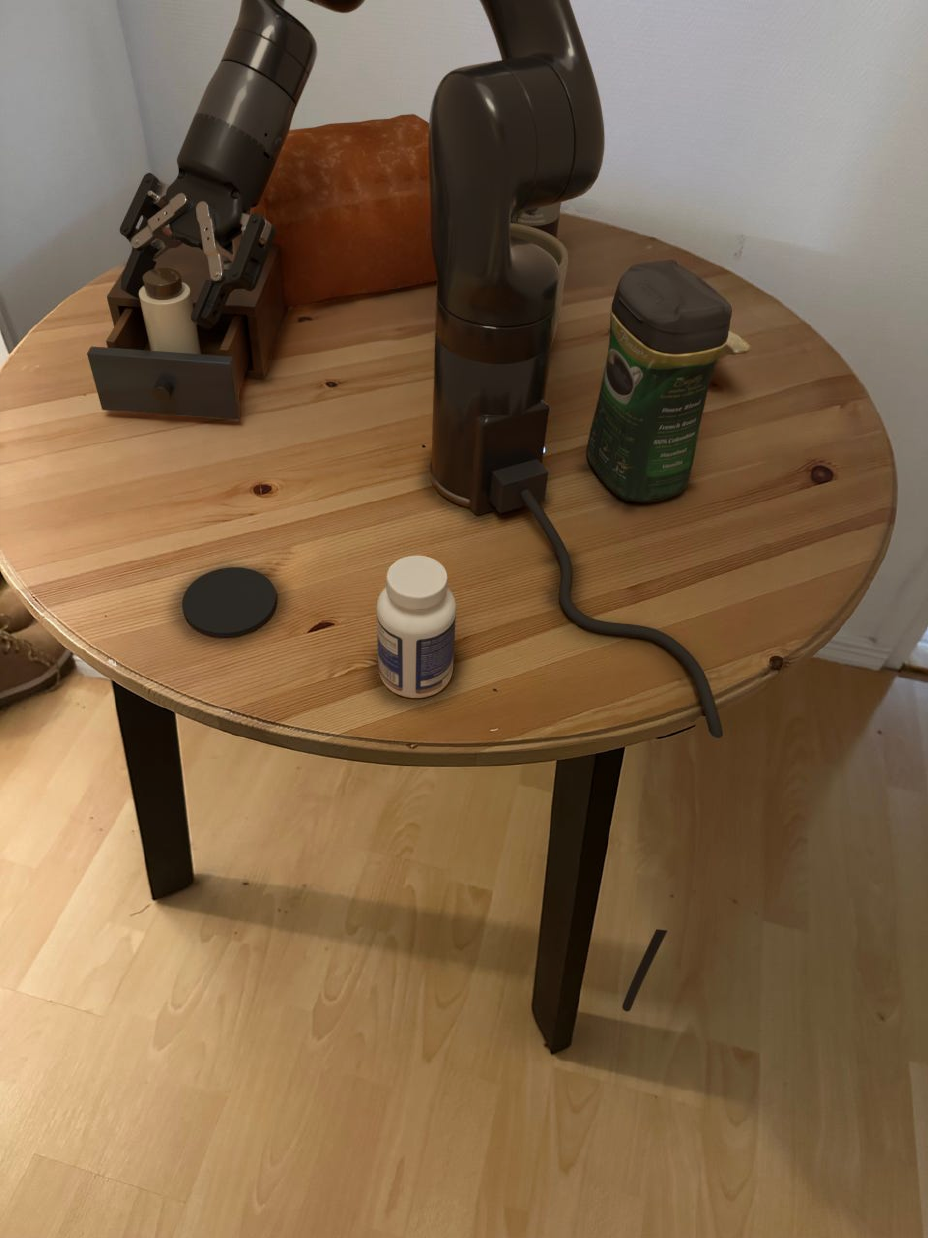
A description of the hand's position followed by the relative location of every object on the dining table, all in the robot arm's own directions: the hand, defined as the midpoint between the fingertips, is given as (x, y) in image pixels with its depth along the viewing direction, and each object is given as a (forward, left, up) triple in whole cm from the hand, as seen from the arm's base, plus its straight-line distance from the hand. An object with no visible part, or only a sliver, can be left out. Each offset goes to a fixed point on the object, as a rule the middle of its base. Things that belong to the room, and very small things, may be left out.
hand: (164, 309), depth 84 cm
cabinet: (+10, -6, -9) cm, 14 cm away
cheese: (-14, -49, -9) cm, 52 cm away
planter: (-4, -32, -9) cm, 33 cm away
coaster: (-28, +4, -9) cm, 30 cm away
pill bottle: (-40, -6, -9) cm, 42 cm away
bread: (+19, -25, -9) cm, 32 cm away
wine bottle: (+7, -41, -9) cm, 42 cm away
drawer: (+1, -1, -8) cm, 8 cm away
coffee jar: (-27, -34, -9) cm, 44 cm away
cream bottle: (0, 0, -7) cm, 7 cm away
